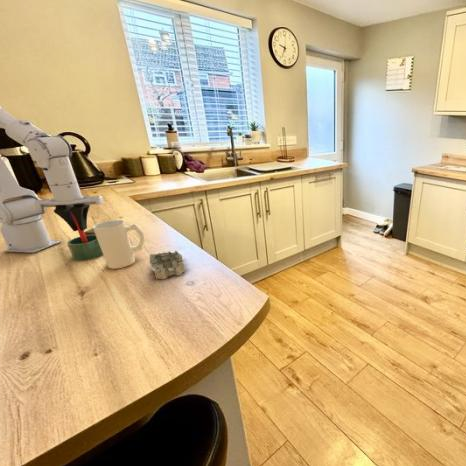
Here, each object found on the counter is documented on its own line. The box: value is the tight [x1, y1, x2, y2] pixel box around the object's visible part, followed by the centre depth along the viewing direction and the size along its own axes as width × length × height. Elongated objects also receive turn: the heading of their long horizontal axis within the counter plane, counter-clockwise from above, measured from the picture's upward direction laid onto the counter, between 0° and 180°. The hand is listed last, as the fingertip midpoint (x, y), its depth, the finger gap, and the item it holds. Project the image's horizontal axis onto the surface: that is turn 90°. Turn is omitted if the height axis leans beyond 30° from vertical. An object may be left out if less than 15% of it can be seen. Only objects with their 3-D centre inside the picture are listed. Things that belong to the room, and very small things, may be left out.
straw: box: [71, 212, 88, 243], centre depth 83 cm, size 1×1×10 cm
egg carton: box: [149, 250, 186, 280], centre depth 78 cm, size 11×8×4 cm
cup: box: [67, 235, 104, 261], centre depth 85 cm, size 7×7×5 cm
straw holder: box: [84, 228, 96, 235], centre depth 98 cm, size 7×7×3 cm
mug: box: [92, 219, 145, 270], centre depth 80 cm, size 10×7×12 cm, turn 129°
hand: (80, 229), depth 83 cm, fingers closed on straw, 1 cm apart
